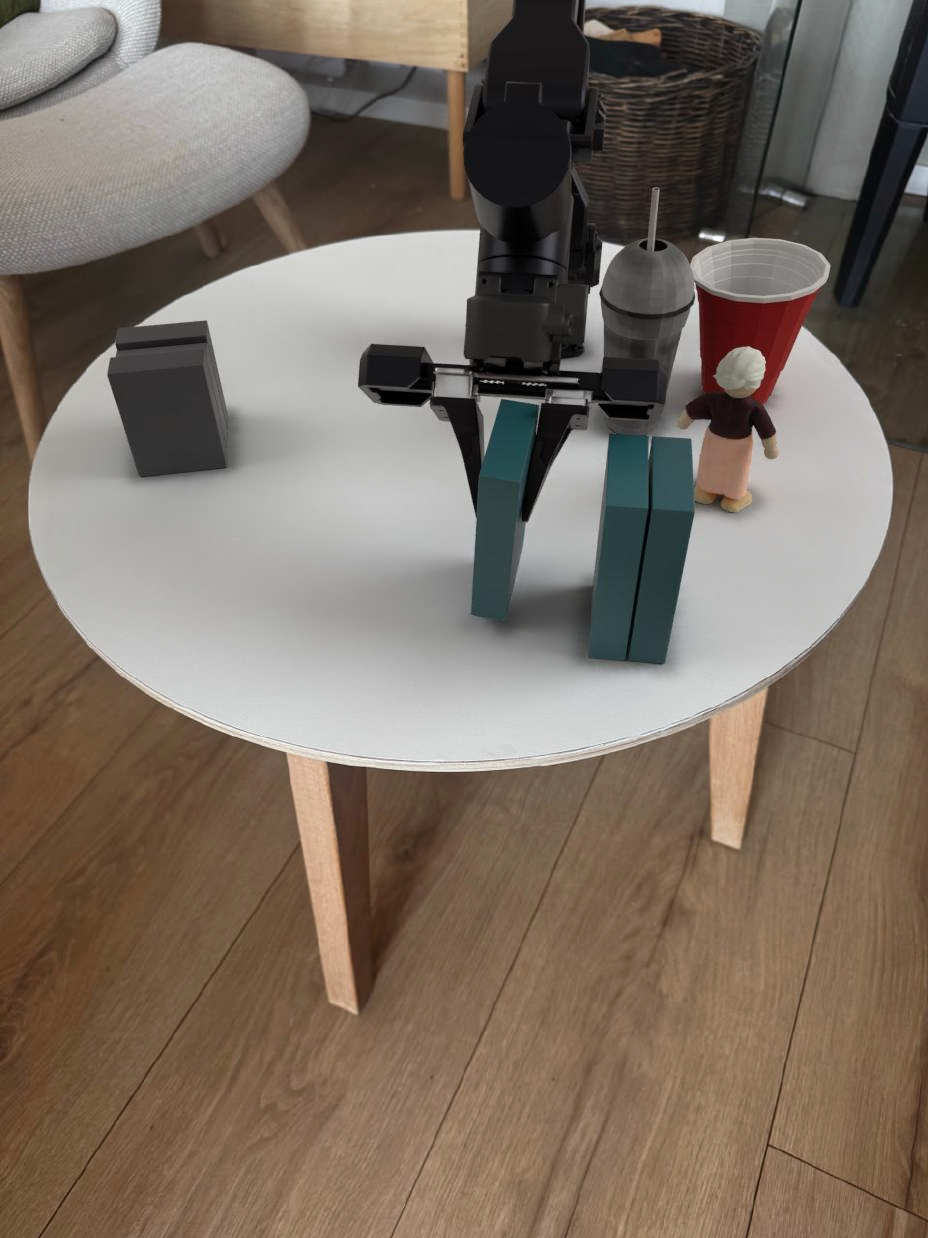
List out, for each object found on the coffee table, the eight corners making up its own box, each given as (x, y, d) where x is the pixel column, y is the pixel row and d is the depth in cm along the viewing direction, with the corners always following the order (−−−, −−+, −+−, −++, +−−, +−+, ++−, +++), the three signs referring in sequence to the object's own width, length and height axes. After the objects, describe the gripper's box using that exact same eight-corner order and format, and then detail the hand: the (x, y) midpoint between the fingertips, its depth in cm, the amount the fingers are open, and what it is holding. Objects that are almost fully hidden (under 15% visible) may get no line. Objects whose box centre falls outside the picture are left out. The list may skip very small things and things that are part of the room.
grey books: (228, 414, 86) (205, 313, 79) (227, 467, 80) (203, 364, 73) (145, 422, 85) (115, 322, 78) (139, 477, 80) (106, 374, 73)
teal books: (592, 584, 70) (609, 432, 61) (664, 590, 70) (691, 437, 60) (588, 657, 65) (605, 505, 56) (664, 664, 65) (695, 511, 56)
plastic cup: (696, 347, 92) (718, 220, 83) (812, 378, 88) (847, 248, 79) (650, 405, 85) (669, 274, 77) (773, 442, 82) (807, 308, 73)
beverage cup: (685, 407, 85) (725, 170, 71) (660, 454, 81) (697, 211, 66) (604, 389, 87) (627, 155, 73) (575, 433, 83) (594, 193, 68)
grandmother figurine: (768, 490, 77) (805, 344, 68) (761, 520, 75) (799, 373, 66) (670, 471, 79) (694, 327, 70) (660, 500, 77) (684, 355, 67)
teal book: (490, 541, 71) (501, 398, 61) (522, 546, 71) (539, 404, 61) (470, 615, 67) (478, 475, 57) (505, 621, 67) (520, 482, 57)
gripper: (348, 215, 55) (326, 496, 56) (688, 230, 53) (663, 520, 54) (384, 280, 66) (366, 514, 67) (667, 294, 64) (647, 534, 65)
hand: (501, 520), depth 63 cm, fingers closed on teal book, 2 cm apart
